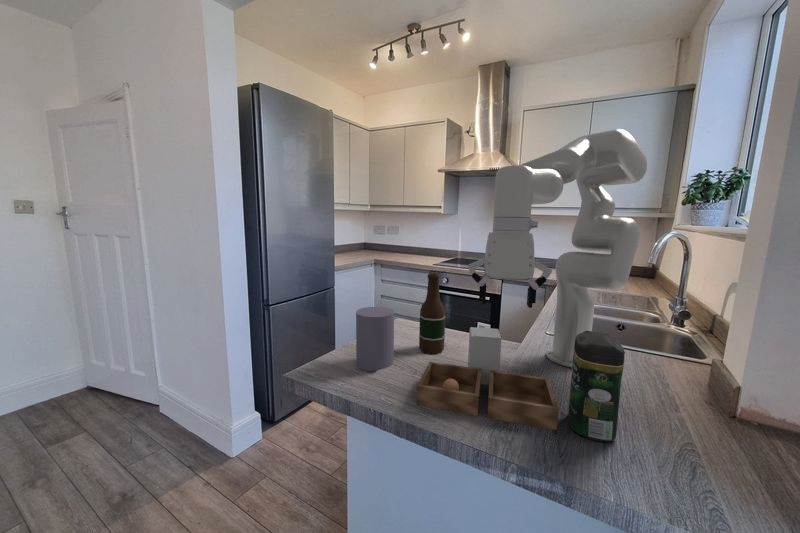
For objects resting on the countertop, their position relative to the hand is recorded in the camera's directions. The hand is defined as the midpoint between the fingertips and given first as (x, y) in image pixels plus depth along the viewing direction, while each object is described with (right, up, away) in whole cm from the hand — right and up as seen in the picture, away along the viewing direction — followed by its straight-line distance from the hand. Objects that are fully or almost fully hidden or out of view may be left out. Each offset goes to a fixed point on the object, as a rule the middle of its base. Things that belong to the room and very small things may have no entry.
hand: (506, 304), depth 71 cm
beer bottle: (-14, -18, +29) cm, 37 cm away
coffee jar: (+14, -23, -8) cm, 28 cm away
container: (-30, -19, +18) cm, 40 cm away
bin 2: (+2, -22, -3) cm, 22 cm away
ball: (-12, -21, +1) cm, 24 cm away
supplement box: (-3, -21, +10) cm, 23 cm away
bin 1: (-12, -21, +2) cm, 24 cm away
